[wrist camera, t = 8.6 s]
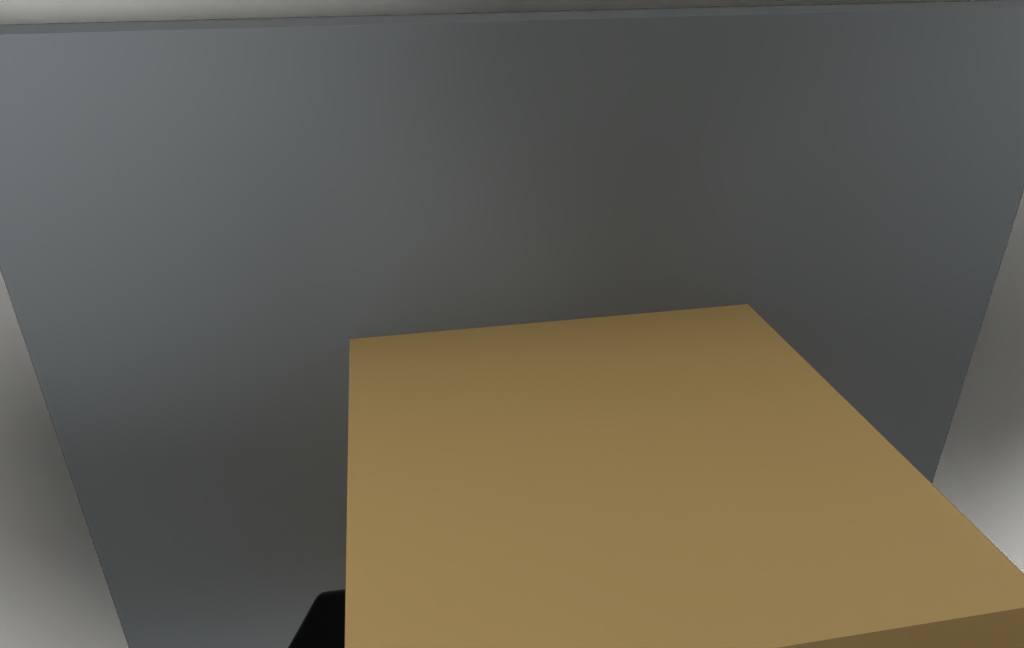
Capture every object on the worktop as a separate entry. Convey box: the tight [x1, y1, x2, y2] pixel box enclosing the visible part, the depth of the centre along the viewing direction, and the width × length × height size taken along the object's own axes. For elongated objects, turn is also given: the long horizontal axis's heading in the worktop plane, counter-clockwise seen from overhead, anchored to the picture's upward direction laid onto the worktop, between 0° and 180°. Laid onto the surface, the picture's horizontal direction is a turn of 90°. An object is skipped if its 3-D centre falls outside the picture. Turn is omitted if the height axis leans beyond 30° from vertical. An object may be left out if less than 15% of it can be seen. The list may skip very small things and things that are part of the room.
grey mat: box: [0, 0, 1024, 648], centre depth 11 cm, size 12×12×1 cm
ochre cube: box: [345, 304, 1024, 648], centre depth 9 cm, size 5×5×5 cm
